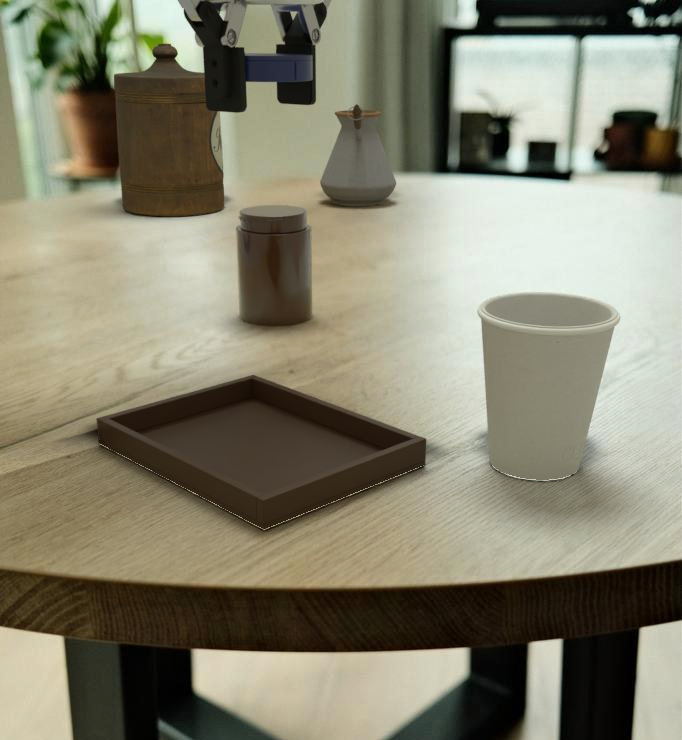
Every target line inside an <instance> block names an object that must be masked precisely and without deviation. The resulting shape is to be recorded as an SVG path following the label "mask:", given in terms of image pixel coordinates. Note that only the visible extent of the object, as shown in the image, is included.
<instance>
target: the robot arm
mask: <svg viewBox="0 0 682 740" xmlns="http://www.w3.org/2000/svg"><path fill="white" fill-rule="evenodd" d="M177 2H178V3H179V6H180V8H181V9H183V15H184V18H185V20H186V22H187V23H188V24H189V26H190V27H191V29H192V30H193V32H194V40H195V43H196V45H197V46H198V47H200V48H202V55H203V57H202V58H203V73H204V77H205V96H206V107H207V109H208V110H209V111H220V113H235V114H236V113H245V112H246V110H247V107H248V99H247V97H248V96H247V82H246V68H245V53H246V51H245V47H244V46H237V44H238V41H239V38H240V34H241V30H242V26H243V23H244V19H245V16H246V11H247V8H248V5H255V6H256V5H264V6H265V5H266V6H267V5H270V7H271V10H272V13H273V16H274V20H275V23H276V26H277V28H278V31H279V36H280V38H281V41H282V42H283V43H279V44H278V43H276V44H275V53H280V54H308V55H312V56H313V59H312V60H313V79H312V80H311V81H299V82H276V99H277V101H278V103H279V104H281V105H299V106H313V105H315V104H316V102H317V64H316V63H317V58H316V53H317V52H316V46H317V45H318V44H319V43H320V41H321V39H322V33H321V28H322V27H323V25H324V23H325V21H326V19H327V16H328V9H329V7H330V4H331V2H332V0H177ZM221 12H225V15H224V17H223V18H222V16H221ZM293 12H295V13H296V14H295V16H294V18H293V17H292V13H293Z"/></svg>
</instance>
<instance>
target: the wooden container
mask: <svg viewBox="0 0 682 740" xmlns="http://www.w3.org/2000/svg"><path fill="white" fill-rule="evenodd" d="M151 51H152V56H153V57H154V58H155V59H154V61H153V63H152V64H151V65H150V66H149V67H147V68H146V69H145V70H142V71H135V72H118V73H114V74H113V89H114V96H115V98H114V99H115V113H116V114H115V115H116V116H115V117H116V133H117V150H118V151H117V152H118V162H119V163H118V166H119V176H120V177H119V179H120V185H121V188H120V191H121V200H122V208H123V210H124V211H126V212H128V213H131V214H136V215H141V216H150V217H187V216H198V215H205V214H211V213H215V212H218V211H221V210H223V209H224V208H225V186H224V176H225V175H224V174H225V173H224V153H223V142H222V141H223V139H222V126H221V125H222V124H221V112H220V111H209V110H208V109H207V107H206V96H205V77H204V72H200V71H191V70H187V69H185V68H184V67H183V66H182V65H181V64H180V63H179V62H178V61H177V60H176V58H177V56H178V53H179V52H178V50H177V48H176V47H175V46H173V45H172V44H171V43H158V44H157V45H155V46H154V47H153V48H152V50H151Z"/></svg>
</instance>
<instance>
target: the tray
mask: <svg viewBox="0 0 682 740" xmlns="http://www.w3.org/2000/svg"><path fill="white" fill-rule="evenodd" d="M96 425H97V428H96V429H97V436H98V444H99V443H100V444H102V445H104V446H106V447H108V448H109V449H111V450H113V451H115V452H117V453H119V454H121V455H123V456H125V457H127V458H129V459H131V460H132V461H134V462H136V463H138V464H140V465H142V466H144V467H146V468H148V469H150V470H152V471H153V472H155V473H157V474H159V475H161V476H163V477H165V478H167V479H169V480H171V481H173V482H175V483H176V484H178V485H180V486H182V487H184V488H186V489H188V490H190V491H192V492H194V493H196V494H198V495H199V496H201V497H203V498H205V499H207V500H209V501H211V502H213V503H215V504H217V505H219V506H220V507H222V508H224V509H226V510H228V511H230V512H232V513H234V514H236V515H238V516H240V517H242V518H243V519H245V520H247V521H249V522H251V523H253V524H255V525H257V526H259V527H261V528H263V529H266V528H268V527H271V526H273V525H276V524H278V523H281V522H283V521H286V520H288V519H291V518H293V517H296V516H298V515H301V514H303V513H306V512H308V511H311V510H313V509H316V508H318V507H321V506H323V505H326V504H328V503H331V502H333V501H336V500H338V499H341V498H343V497H346V496H348V495H350V494H353V493H355V492H358V491H360V490H363V489H365V488H368V487H370V486H373V485H375V484H378V483H380V482H383V481H385V480H388V479H390V478H393V477H395V476H398V475H400V474H403V473H405V472H408V471H410V470H413V469H415V468H418V467H420V466H423V465H425V466H426V463H427V462H426V458H427V438H425V437H423V436H420V435H417V434H415V433H413V432H409V431H406V430H404V429H401V428H398V427H396V426H393V425H390V424H387V423H385V422H382V421H379V420H376V419H374V418H372V417H369V416H366V415H364V414H360V413H359V412H355V411H352V410H349V409H347V408H344V407H341V406H339V405H336V404H333V403H331V402H328V401H325V400H323V399H321V398H317V397H315V396H313V395H309V394H306V393H303V392H302V391H298V390H296V389H293V388H290V387H288V386H284V385H282V384H280V383H277V382H274V381H271V380H268V379H266V378H263V377H262V376H261V377H260V376H258V375H255V374H251V375H247V376H244V377H240V378H237V379H233V380H229V381H225V382H223V383H217V384H215V385H212V386H207V387H204V388H201V389H197V390H194V391H190V392H186V393H182V394H179V395H176V396H175V395H174V396H172V397H168V398H165V399H160V400H157V401H154V402H149V403H147V404H143V405H139V406H136V407H132V408H128V409H126V410H125V409H124V410H122V411H118V412H114V413H111V414H106V415H103V416H99V417H96Z"/></svg>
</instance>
